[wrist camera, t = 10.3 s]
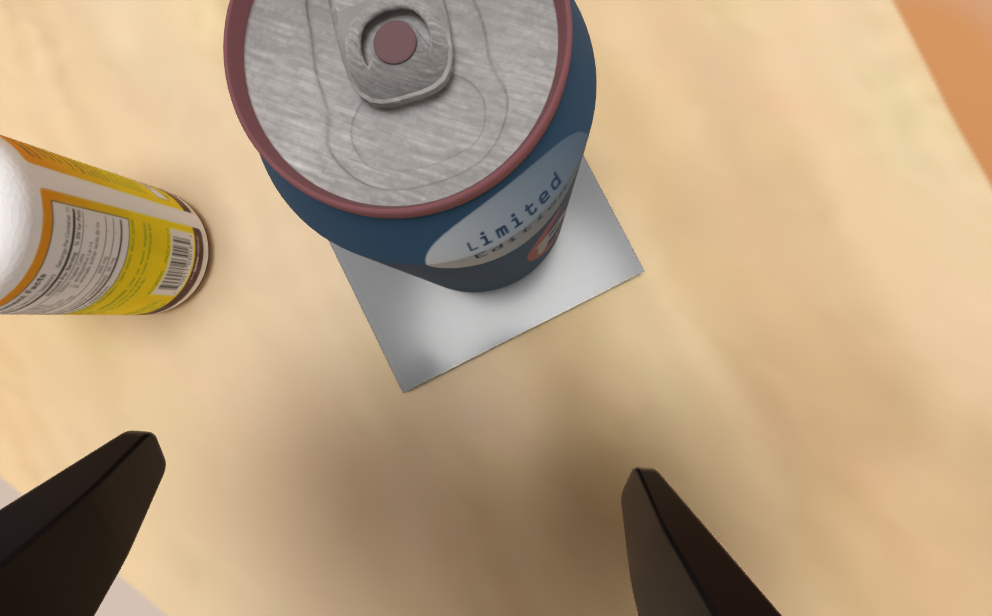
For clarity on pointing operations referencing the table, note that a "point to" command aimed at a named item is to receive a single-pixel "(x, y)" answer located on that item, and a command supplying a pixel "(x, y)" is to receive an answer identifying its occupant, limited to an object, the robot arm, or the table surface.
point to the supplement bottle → (91, 239)
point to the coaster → (491, 292)
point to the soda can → (419, 125)
